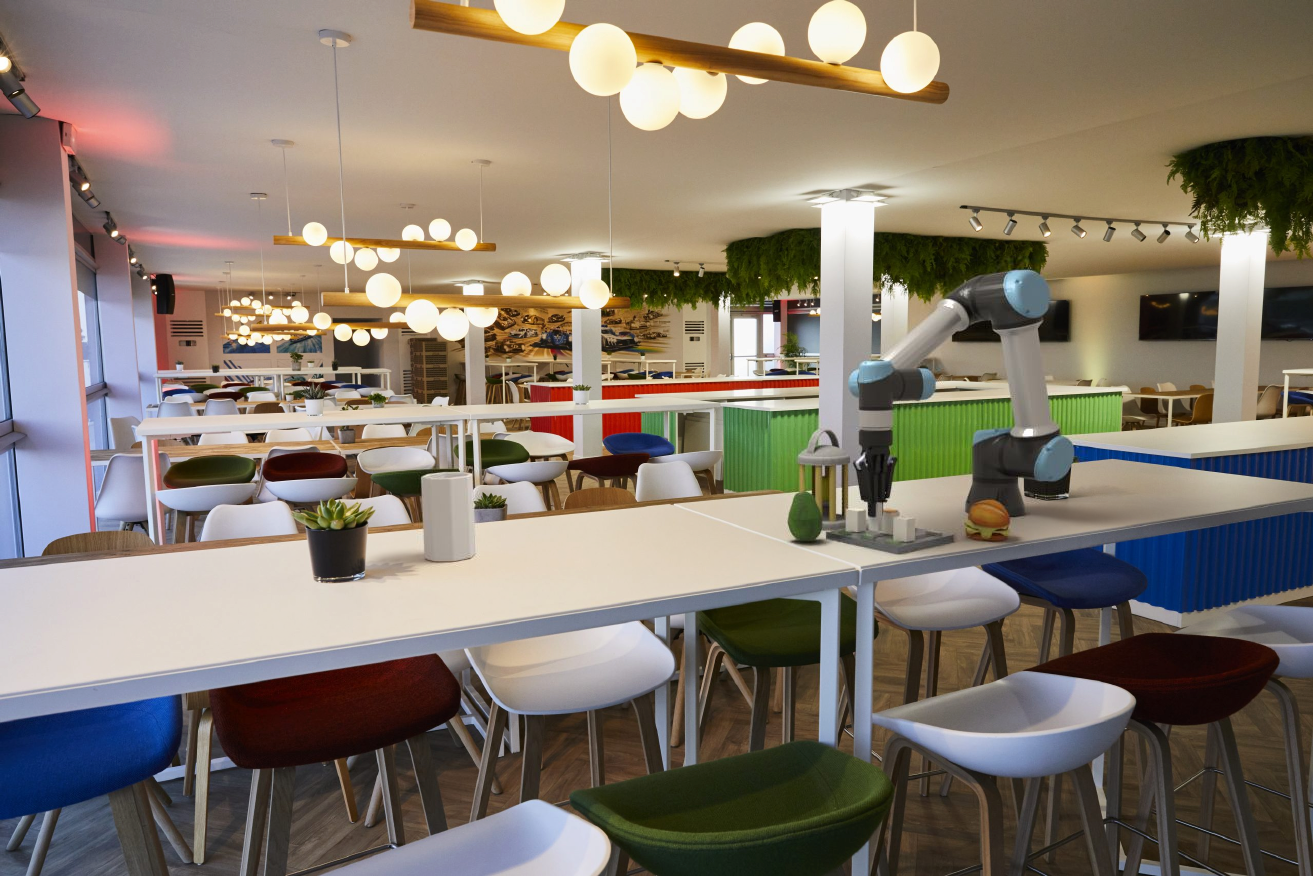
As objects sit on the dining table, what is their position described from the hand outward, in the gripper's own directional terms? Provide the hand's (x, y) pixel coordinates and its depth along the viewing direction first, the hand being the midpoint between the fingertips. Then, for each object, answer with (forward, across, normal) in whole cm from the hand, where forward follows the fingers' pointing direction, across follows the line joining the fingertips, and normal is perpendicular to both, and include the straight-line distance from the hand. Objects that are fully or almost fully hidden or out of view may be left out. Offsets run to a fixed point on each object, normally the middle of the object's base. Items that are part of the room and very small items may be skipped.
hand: (875, 530), depth 190 cm
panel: (+3, -5, 0) cm, 6 cm away
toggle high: (+1, -1, +7) cm, 7 cm away
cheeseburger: (+3, -24, +13) cm, 28 cm away
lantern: (+3, -7, -22) cm, 24 cm away
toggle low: (+1, -1, -7) cm, 7 cm away
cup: (+3, +82, -52) cm, 97 cm away
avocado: (+3, +11, -12) cm, 16 cm away
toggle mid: (+1, -5, 0) cm, 5 cm away
